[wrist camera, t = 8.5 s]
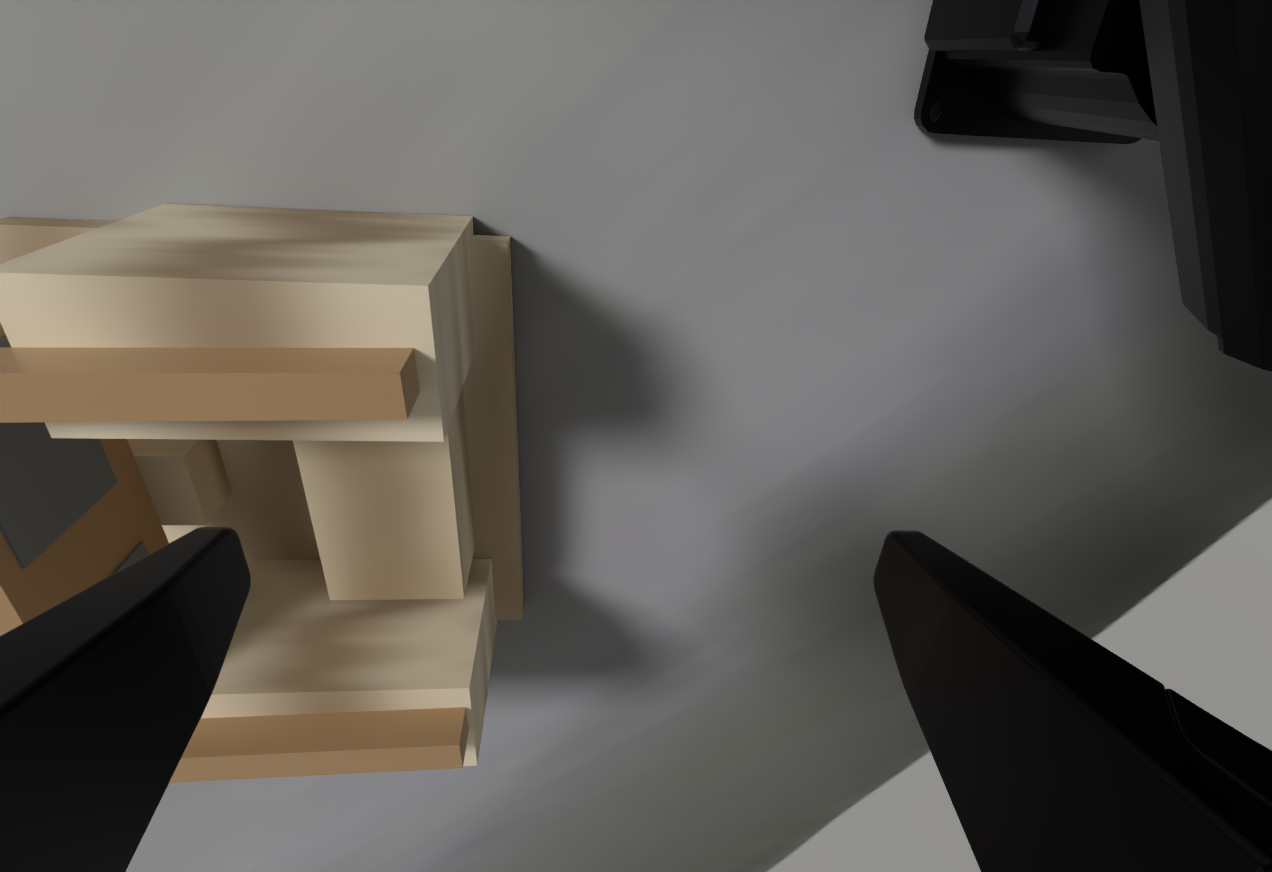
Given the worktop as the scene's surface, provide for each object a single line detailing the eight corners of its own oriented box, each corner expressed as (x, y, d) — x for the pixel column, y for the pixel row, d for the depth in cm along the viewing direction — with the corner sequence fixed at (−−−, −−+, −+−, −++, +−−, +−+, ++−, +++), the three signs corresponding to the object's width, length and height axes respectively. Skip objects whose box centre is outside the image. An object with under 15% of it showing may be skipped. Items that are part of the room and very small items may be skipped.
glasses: (445, 289, 17) (399, 372, 12) (484, 631, 23) (462, 768, 18) (-1, 286, 16) (-218, 373, 12) (161, 642, 22) (59, 788, 18)
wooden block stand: (509, 218, 18) (480, 287, 13) (524, 614, 26) (510, 764, 20) (-1, 197, 17) (-269, 264, 12) (170, 619, 25) (54, 780, 19)
